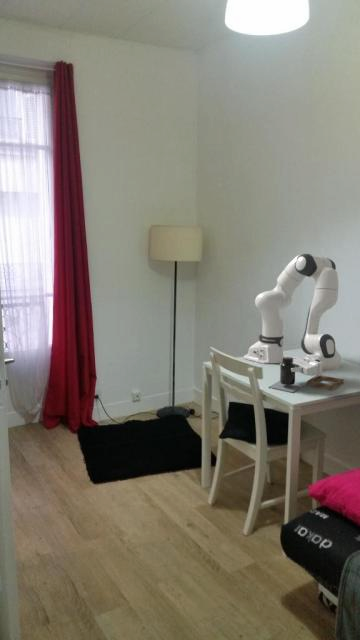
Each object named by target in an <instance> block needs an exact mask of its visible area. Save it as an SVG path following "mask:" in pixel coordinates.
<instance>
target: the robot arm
mask: <svg viewBox="0 0 360 640" xmlns="http://www.w3.org/2000/svg"><path fill="white" fill-rule="evenodd" d="M336 268H337V267H336V263H335V262H334V260H332V259H330V258H328V257H325V256H323V255H322V256H321V255H317V254H316V255H315V254H310V253H302V254H297V255H296V256H295V257H294V258H292V259H291V261H290V262H289V263H288V264H287V265H286V266H285V268H284V269H283V270H282V272H281V273H280V274H279V276H278V277H277V280H276V283H277V284H276V285H275V287H274V288H273V289H272V290H266V291H263V292H261V293H259V294H258V295H256V297H255V299H254V304H255V307H256V309H257V310H258V311H259V313H260V316H261V319H262V320H261V321H262V331H261V332H262V333H261V334H260V335H258V336H257V339H259V340H258V341H257V342H255V343H253V344H252V345H251V346H250V347H249V348H248V351H247V352H248V353H246V354H245V355H244V356H243V359H245V360H249V361H252V362H256V363H259V364H263V365H264V364H265V365H266V364H267V365H268V364H279V366H280V365H281V364H282V363H283V362H282V361H283V358H284V357H285V355H284V348H283V345H284V333H283V332H284V321H283V320H282V318H281V317H280V313H279V310H282V309H285V308H287V307H289V306H290V305H291V303H292V300H293V295H294V293H295V291H296V289H297V288H298V287H299V286H300V284H301V283H302V282H303V281H304V279H306V278H305V277H308V278H313V279H314V294H313V296H312V297H313V298H312V302H311V304H310V305H309V308H308V314H307V317H306V323H305V330H304V333H303V336H302V338H301V341H300V346H301V349H302V351H303V352H304V353H305V354H307V355H304V356H303V358H300V357H297V356H290V357H291V358H293V364H294V365H295V368H294V367H292V368H290V371H291V372H295V373H300V374H303V375H305V376H308V377H309V376H313V377H314V376H316V375H318V376H320V375H323V373H325V372H331V371H334V370H336V369H338V368H339V367H340V366H341V364H342V355H341V354H340V353H339V352H338V350H337V348H336V341H335V338H334V336H332V335H331V334H329V333H328V334H327V333H320V334H319V333H318V332H319V327H320V321H321V317H322V316H323V315H324V314H325V313H326V312H327V311H328V310H331V309H332V308H333V307H334V306H335V305H336V304H337V301H338V298H339V297H338V296H339V276H338V275H339V274H338V272H337V269H336Z"/></svg>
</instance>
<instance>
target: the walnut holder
mask: <svg viewBox="0 0 360 640" xmlns="http://www.w3.org/2000/svg"><path fill="white" fill-rule="evenodd" d="M319 381H323V382H319ZM324 382H329V383H332V384H328V383H324ZM344 383H345V381H344V379H343V378H338V377H332V376H327V375H323V374H322V375H320V376H318V375H314V376H313V377H311V378H310V379H308V380H307V381H306V385H307V386H310V387H313V388H319V389H324V390H329V391H335V390H337V389H338V388H340V387H341V386H342V385H343V384H344Z"/></svg>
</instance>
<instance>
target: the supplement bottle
mask: <svg viewBox="0 0 360 640" xmlns="http://www.w3.org/2000/svg"><path fill="white" fill-rule="evenodd" d="M291 357H292V356H289V357H288V356H286V357H285V356H284V358H283V361H282V362H281V363H282V364H281V363H280V364H281V365H280V364H279V367H280V371H279V375H280V377H279V378H280V379H279V381H280V383H281V384H285V385H292V384H294V383H296V372H291V371H290V368H292V367H294V368H295V365H294V364H293V358H291Z"/></svg>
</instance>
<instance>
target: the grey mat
mask: <svg viewBox="0 0 360 640" xmlns="http://www.w3.org/2000/svg"><path fill="white" fill-rule="evenodd" d="M304 386H305V385H304V384H301V383H296V382H295V383H294V384H292V385H285V384H281V383H280V380H278V381H277V382H275V383H273V384H271V385H270V386H268V389H271V388H272V390H277V391H282V392H286V393H291V394H294V393H295V392H296V391H298V390H301V388H303V387H304Z"/></svg>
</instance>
